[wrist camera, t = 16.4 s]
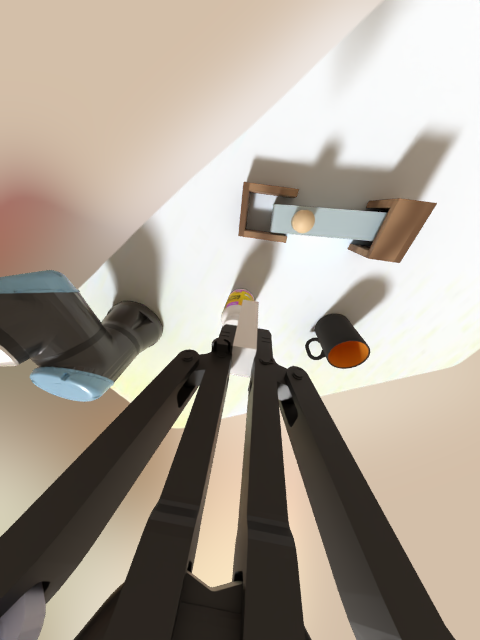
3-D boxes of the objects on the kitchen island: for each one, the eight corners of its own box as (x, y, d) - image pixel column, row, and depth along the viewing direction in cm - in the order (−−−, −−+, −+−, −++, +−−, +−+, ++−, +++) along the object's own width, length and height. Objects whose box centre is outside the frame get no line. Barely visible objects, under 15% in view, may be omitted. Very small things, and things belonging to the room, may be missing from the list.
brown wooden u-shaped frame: (240, 233, 35) (238, 235, 32) (245, 184, 30) (243, 181, 28) (283, 239, 35) (285, 242, 32) (295, 191, 30) (298, 189, 27)
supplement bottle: (243, 282, 40) (237, 308, 30) (259, 302, 43) (258, 333, 32) (223, 297, 43) (210, 326, 33) (239, 315, 46) (232, 347, 35)
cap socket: (347, 249, 34) (368, 258, 28) (368, 201, 30) (399, 198, 23) (372, 252, 34) (399, 262, 27) (397, 204, 30) (437, 203, 23)
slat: (269, 228, 34) (271, 234, 27) (273, 205, 32) (276, 203, 24) (367, 237, 33) (398, 245, 25) (378, 213, 31) (415, 214, 23)
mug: (296, 327, 46) (304, 354, 37) (343, 308, 41) (365, 334, 33) (308, 348, 49) (317, 377, 40) (352, 332, 45) (374, 361, 36)
